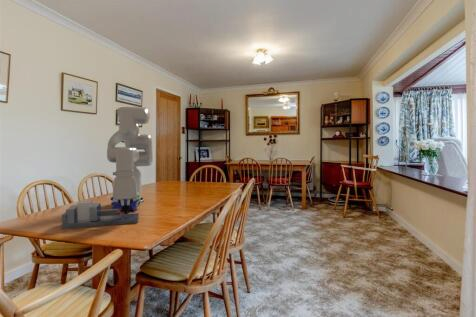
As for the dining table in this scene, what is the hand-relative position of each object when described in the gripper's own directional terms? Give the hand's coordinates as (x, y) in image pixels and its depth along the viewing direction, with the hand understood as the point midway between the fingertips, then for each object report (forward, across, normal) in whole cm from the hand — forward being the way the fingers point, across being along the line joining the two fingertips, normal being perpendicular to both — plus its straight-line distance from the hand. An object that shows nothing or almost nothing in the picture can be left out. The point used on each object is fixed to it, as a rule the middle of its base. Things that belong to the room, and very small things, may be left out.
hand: (125, 213), depth 124 cm
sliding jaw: (+1, -8, 0) cm, 8 cm away
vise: (+4, -10, 0) cm, 10 cm away
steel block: (+2, -17, 0) cm, 17 cm away
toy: (+4, -1, +24) cm, 24 cm away
